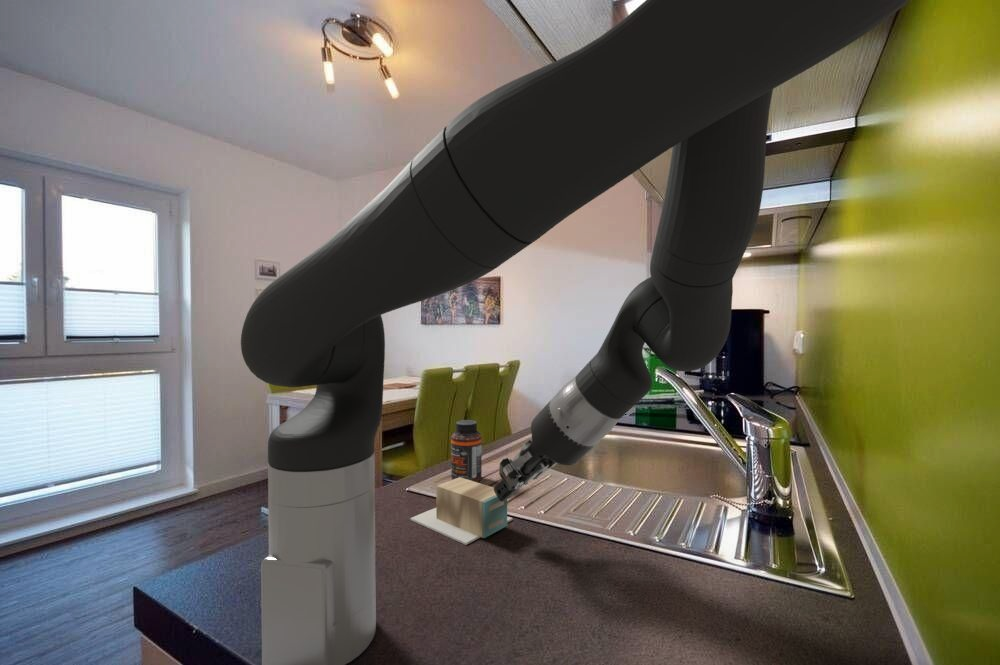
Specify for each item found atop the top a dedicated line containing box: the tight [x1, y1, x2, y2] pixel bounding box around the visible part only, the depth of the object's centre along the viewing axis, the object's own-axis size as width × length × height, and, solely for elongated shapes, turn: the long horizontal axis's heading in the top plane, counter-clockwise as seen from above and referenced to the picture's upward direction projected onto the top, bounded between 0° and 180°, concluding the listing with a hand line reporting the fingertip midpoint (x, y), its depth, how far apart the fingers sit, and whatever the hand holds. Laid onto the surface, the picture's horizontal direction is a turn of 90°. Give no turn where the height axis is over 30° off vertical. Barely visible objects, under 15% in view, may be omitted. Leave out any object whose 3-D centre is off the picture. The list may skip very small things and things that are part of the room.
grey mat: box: [410, 507, 513, 546], centre depth 66 cm, size 12×10×1 cm
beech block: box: [435, 477, 508, 539], centre depth 64 cm, size 5×5×10 cm
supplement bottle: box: [450, 419, 483, 483], centre depth 83 cm, size 6×6×11 cm
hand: (500, 494), depth 60 cm, fingers closed
